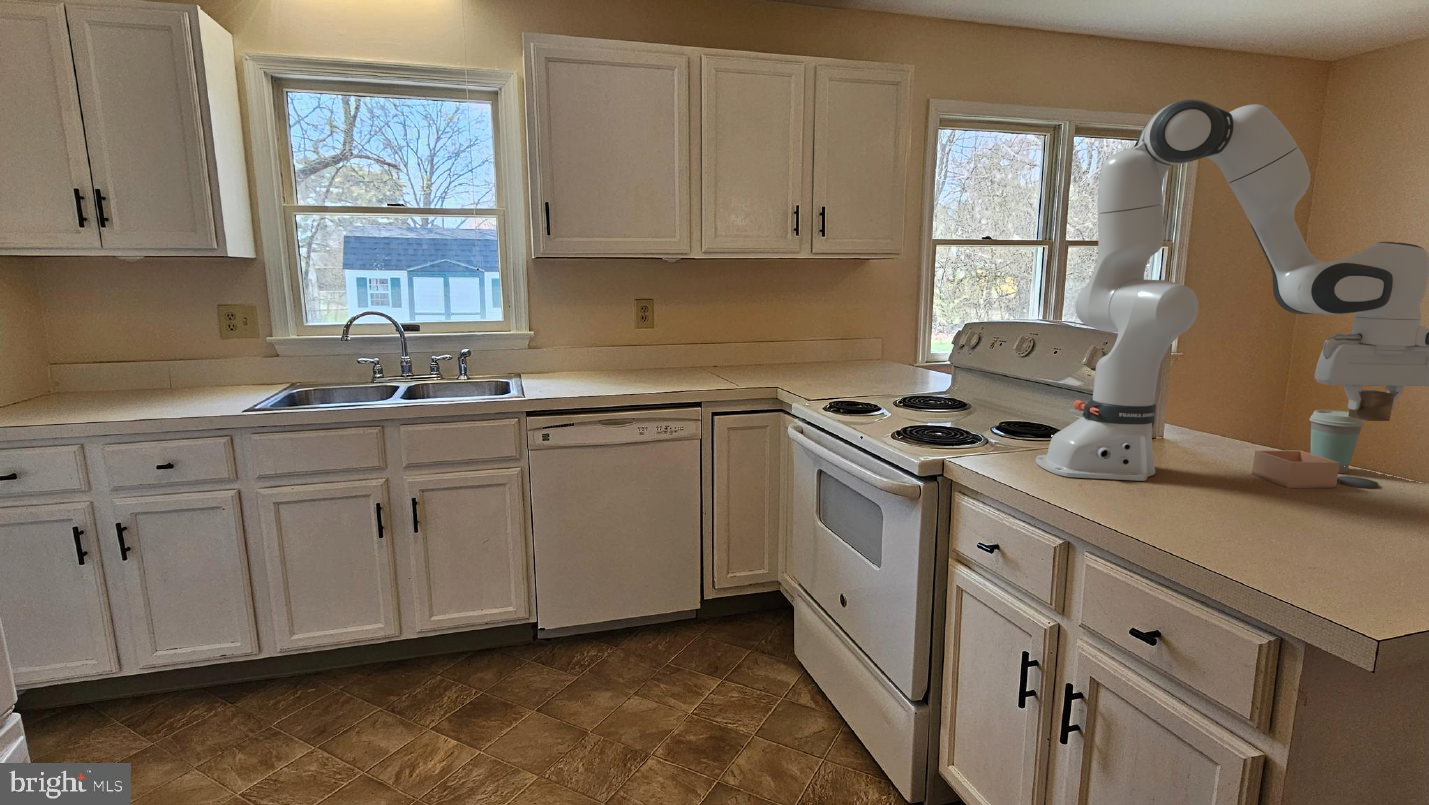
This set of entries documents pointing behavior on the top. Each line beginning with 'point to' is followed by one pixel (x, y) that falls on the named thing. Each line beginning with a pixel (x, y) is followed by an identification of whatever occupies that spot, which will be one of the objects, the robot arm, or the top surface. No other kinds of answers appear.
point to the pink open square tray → (1295, 469)
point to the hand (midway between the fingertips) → (1370, 409)
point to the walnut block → (1374, 406)
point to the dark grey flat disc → (1357, 482)
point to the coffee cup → (1334, 436)
